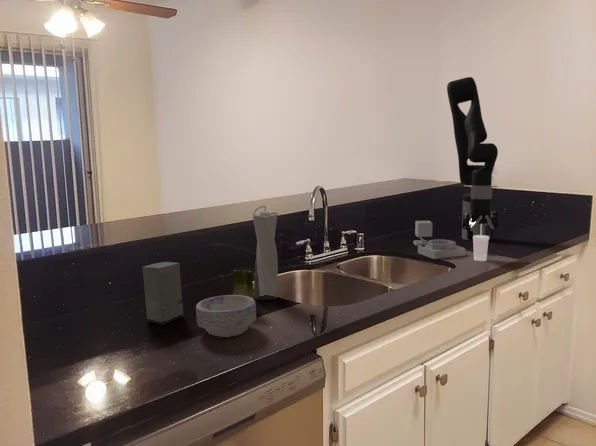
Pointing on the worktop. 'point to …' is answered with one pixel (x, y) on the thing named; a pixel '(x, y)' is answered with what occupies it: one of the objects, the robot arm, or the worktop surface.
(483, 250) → the beverage cup
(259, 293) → the skyscraper
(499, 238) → the worktop surface
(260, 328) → the worktop surface
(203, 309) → the paper bowls
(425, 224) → the security camera
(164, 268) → the skincare box
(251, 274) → the fennel bulb
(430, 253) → the mount block
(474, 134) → the robot arm
